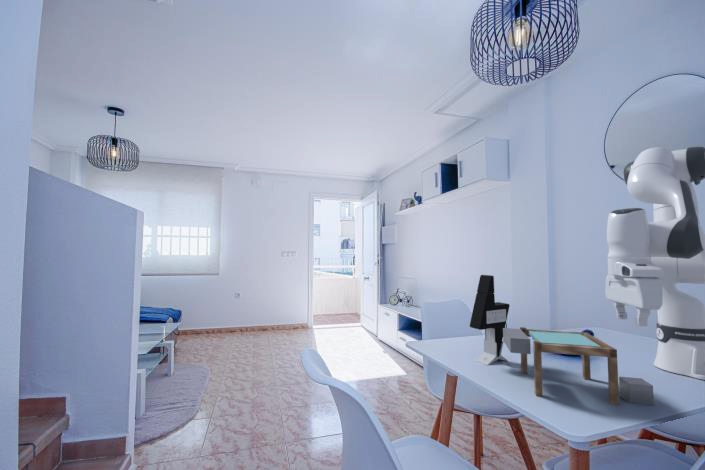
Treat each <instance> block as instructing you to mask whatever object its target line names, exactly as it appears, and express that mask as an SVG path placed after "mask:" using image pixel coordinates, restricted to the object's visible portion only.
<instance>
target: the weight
mask: <svg viewBox="0 0 705 470" xmlns="http://www.w3.org/2000/svg"><path fill="white" fill-rule="evenodd" d="M618 388H619V397H621V398H622V399H624V400H625V401H626V402H627V403H628V404H631V405H641V406H649V407H654V406H655V398H654V385H652V384H651V383H649V382H648V381H646V380H645V379H643V378H641V377H639V378H638V377H628V376H618Z"/></svg>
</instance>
